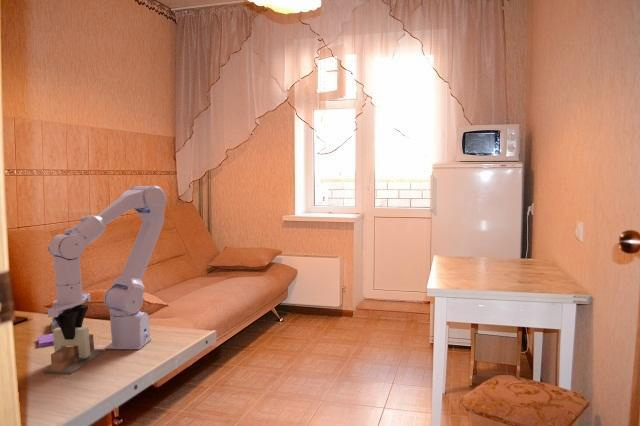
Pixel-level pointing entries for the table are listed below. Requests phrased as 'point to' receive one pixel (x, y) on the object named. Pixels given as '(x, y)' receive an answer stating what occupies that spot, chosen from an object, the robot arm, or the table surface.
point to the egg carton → (54, 324)
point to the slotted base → (70, 359)
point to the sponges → (45, 340)
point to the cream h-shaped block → (73, 340)
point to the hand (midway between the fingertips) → (72, 337)
